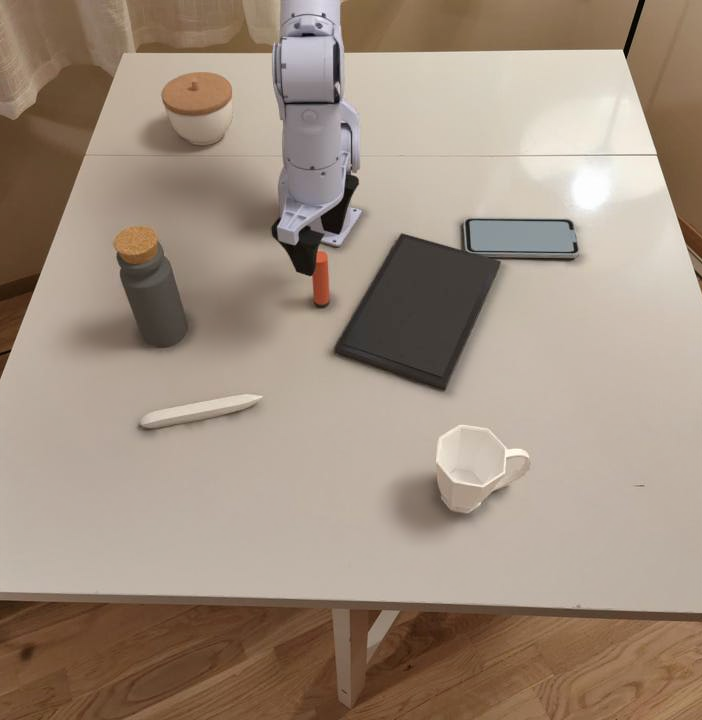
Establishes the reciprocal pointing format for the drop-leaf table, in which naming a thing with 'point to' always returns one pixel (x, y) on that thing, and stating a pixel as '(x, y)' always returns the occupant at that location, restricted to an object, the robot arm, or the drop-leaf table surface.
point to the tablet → (419, 311)
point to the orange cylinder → (321, 281)
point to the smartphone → (521, 237)
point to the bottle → (150, 287)
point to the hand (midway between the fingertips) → (319, 251)
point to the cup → (473, 466)
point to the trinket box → (199, 106)
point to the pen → (198, 410)
